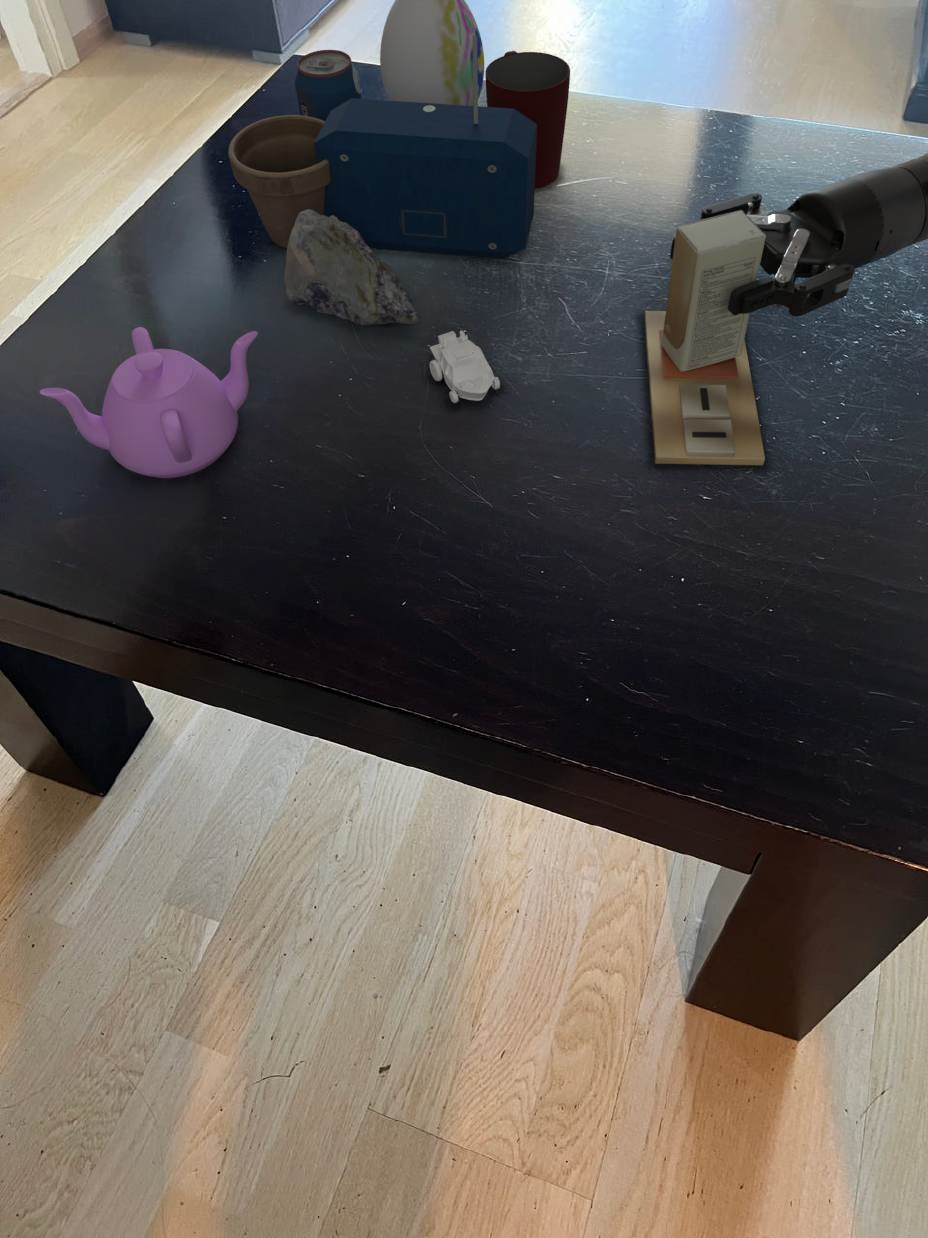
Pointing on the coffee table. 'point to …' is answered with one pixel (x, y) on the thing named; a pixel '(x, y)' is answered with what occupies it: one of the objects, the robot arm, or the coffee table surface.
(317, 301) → the mineral rock
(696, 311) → the cosmetic box
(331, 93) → the soda can
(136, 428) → the teapot
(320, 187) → the flower pot
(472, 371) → the toy car
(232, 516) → the coffee table surface
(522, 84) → the mug
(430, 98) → the decorative egg
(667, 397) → the word board
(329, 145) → the radio
